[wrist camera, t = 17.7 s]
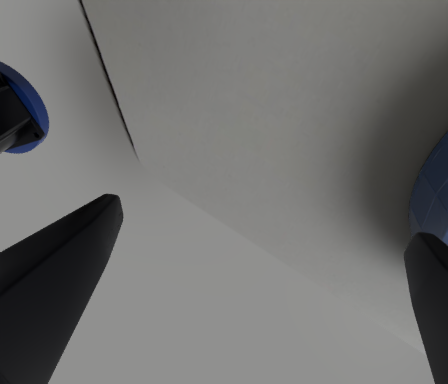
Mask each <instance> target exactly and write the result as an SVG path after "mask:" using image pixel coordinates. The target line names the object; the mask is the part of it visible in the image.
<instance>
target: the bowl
mask: <svg viewBox="0 0 448 384" xmlns="http://www.w3.org/2000/svg"><path fill="white" fill-rule="evenodd" d="M409 224H410V231H411V236H412V237H413V236H414V234H415V233H417V232H426V233H432V234H434V235H436V236H437V237H438V238H439V239H441V240H442V241H443V242H444V243H446V244H447V245H448V132H447V133H446V134H445V136H444V137H443V138H442V139H441V141H440V142H439V143H438V144H437V146H436V147H435V148H434V149H433V151H432V153H431V154H430V156H429V157H428V159H427V161H426V162H425V164H424V165H423V167H422V169H421V171H420V173H419V176H418V178H417V180H416V182H415V185H414V188H413V192H412V195H411V199H410V205H409Z"/></svg>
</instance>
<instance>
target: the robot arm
mask: <svg viewBox="0 0 448 384" xmlns="http://www.w3.org/2000/svg"><path fill="white" fill-rule="evenodd" d="M37 133H38V134H39V135H38V134H37ZM44 137H45V133H44V131H43V130H42V129H41V127H40V126H39V124H38V123H37V122H36V120H35V119H34V118H33V116H32V115H31V113H30V112H29V111H28V109H27V108H26V106H25V105H24V104H23V102H22V101H21V100H20V98H19V97H18V95H17V94H16V93H15V91H14V90H13V89H12V87H11V86H10V84H9V83H8V82H7V80H6V79H5V77H4V76H3V75H2V73H1V72H0V153H2V152H3V151H6V150H9V149H13V148H16V147H19V146H23V145H26V144H29V143H32V142H36V141H39V140H41V139H42V138H44ZM122 222H123V211H122V207H121V201H120V198H119V196H118V195H114V194H104V195H102V196H100V197H98V198H97V199H95V200H93V201H91V202H89V203H88V204H86V205H84V206H82V207H81V208H79V209H77V210H75V211H73V212H72V213H70V214H68V215H66V216H64V217H63V218H61V219H59V220H57V221H56V222H54V223H52V224H50V225H48V226H47V227H45V228H43V229H41V230H40V231H38V232H36V233H34V234H32V235H31V236H29V237H27V238H25V239H23V240H22V241H20V242H18V243H16V244H14V245H13V246H11V247H9V248H7V249H6V250H4V251H2V252H0V384H48V382H49V380H50V378H51V376H52V374H53V372H54V370H55V368H56V366H57V364H58V362H59V360H60V358H61V356H62V354H63V352H64V350H65V348H66V346H67V344H68V342H69V340H70V338H71V336H72V334H73V332H74V330H75V328H76V326H77V324H78V322H79V320H80V317H81V316H82V314H83V312H84V310H85V308H86V305H87V304H88V302H89V299H90V297H91V295H92V293H93V291H94V289H95V287H96V285H97V283H98V281H99V279H100V277H101V275H102V273H103V271H104V269H105V267H106V265H107V263H108V260H109V258H110V255H111V252H112V250H113V247H114V244H115V241H116V239H117V236H118V233H119V230H120V227H121V225H122ZM404 261H405V267H406V273H407V279H408V285H409V291H410V297H411V302H412V306H413V310H414V314H415V317H416V321H417V324H418V327H419V331H420V334H421V338H422V341H423V344H424V348H425V351H426V354H427V358H428V361H429V365H430V368H431V371H432V375H433V378H434V382H435V384H448V245H447V244H446V243H444V242H443V241H442V240H441V239H439V238H438V237H437V236H436V235H434V234H432V233H426V232H417V233H415V234H414V236H413V237H412V239H411V241H410V243H409V244H408V246H407V248H406V250H405V252H404Z"/></svg>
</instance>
